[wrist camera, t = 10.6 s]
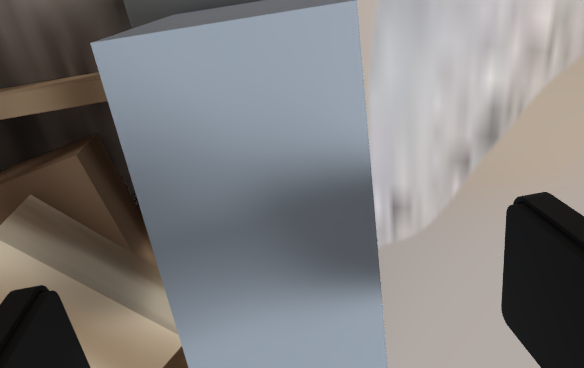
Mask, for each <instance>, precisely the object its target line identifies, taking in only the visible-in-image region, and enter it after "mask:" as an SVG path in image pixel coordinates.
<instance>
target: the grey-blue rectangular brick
mask: <svg viewBox="0 0 584 368" xmlns="http://www.w3.org/2000/svg"><path fill="white" fill-rule="evenodd" d="M358 20H359V19H358V8H357V0H262V1H256V2H250V3H243V4H237V5H231V6H224V7H218V8H212V9H206V10H199V11H193V12H187V13H180V14H174V15H171V16H168V17H165V18H162V19H159V20H156V21H153V22H151V23H148V24H145V25H142V26H139V27H136V28H133V29H130V30H127V31H124V32H121V33H118V34H115V35H112V36H109V37H106V38H103V39H100V40H97V41H94V42H91V43H90V44H91V48H92V51H93V54H94V57H95V61H96V64H97V67H98V71H99V74H100V77H101V81H102V84H103V87H104V90H105V94H106V97H107V100H108V104H109V107H110V110H111V114H112V117H113V120H114V123H115V127H116V130H117V133H118V137H119V140H120V143H121V147H122V150H123V153H124V156H125V160H126V163H127V166H128V170H129V173H130V176H131V180H132V183H133V186H134V190H135V193H136V196H137V199H138V203H139V206H140V209H141V213H142V216H143V219H144V223H145V226H146V229H147V232H148V236H149V239H150V242H151V246H152V249H153V252H154V256H155V259H156V262H157V265H158V269H159V272H160V275H161V279H162V282H163V285H164V289H165V292H166V295H167V298H168V302H169V305H170V308H171V312H172V315H173V318H174V322H175V325H176V328H177V331H178V335H179V338H180V341H181V345H182V348H183V351H184V355H185V358H186V361H187V364H188V368H388V366H387V354H386V342H385V330H384V318H383V306H382V295H381V283H380V271H379V259H378V246H377V235H376V223H375V211H374V199H373V187H372V175H371V163H370V151H369V139H368V127H367V115H366V103H365V91H364V79H363V67H362V56H361V45H360V32H359V21H358Z"/></svg>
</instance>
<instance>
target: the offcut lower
mask: <svg viewBox="0 0 584 368" xmlns="http://www.w3.org/2000/svg"><path fill="white" fill-rule="evenodd" d="M30 194H31V195H33V196H34V197H36V198H38V199H39V200H41V201H43V202H45V203H46V204H48V205H50V206H52V207H53V208H55V209H57V210H58V211H60V212H62V213H64V214H65V215H67V216H69V217H71V218H72V219H74V220H76V221H77V222H79V223H81V224H83V225H84V226H86V227H88V228H90V229H91V230H93V231H95V232H97V233H98V234H100V235H102V236H103V237H105V238H107V239H109V240H110V241H112V242H114V243H116V244H117V245H119V246H121V247H122V248H124V249H126V250H128V251H129V252H131V253H133V254H135V255H136V256H138V257H140V258H141V259H143V260H145V261H147V262H148V263H150V264H152V265H154V266H155V267H157V268H158V265H157V262H156V259H155V256H154V252H153V249H152V246H151V242H150V239H149V236H148V232H147V229H146V226H145V223H144V219H143V216H142V215H141V213H140V211H139V209H138V207H137V206H136V204H135V202H134V200H133V198H132V196H131V195H130V193H129V191H128V189H127V187H126V185H125V184H124V182H123V180H122V178H121V176H120V174H119V173H118V171H117V169H116V167H115V165H114V163H113V162H112V160H111V158H110V156H109V154H108V153H107V151H106V149H105V147H104V145H103V143H102V142H101V140H100V138H99V136H98V134H97V133H96V134H94V135H91V136H89V137H86V138H83V139H81V140H78V141H75V142H73V143H70V144H68V145H65V146H62V147H60V148H57V149H54V150H52V151H49V152H47V153H44V154H41V155H39V156H36V157H33V158H31V159H28V160H26V161H23V162H20V163H18V164H15V165H12V166H10V167H8V168H7V169H6V170H4V171H3V172H2V173H0V225H1V224H2V223H3V222H4V221H5V220H6V219H7V218H8V217H9V216H10V215H11V214H12V213H13V212H14V211H15V210H16V209H17V208H18V207H19V206H20V205H21V204H22V203H23V202H24V200H25V199H26V198H27V197H28V196H29V195H30Z"/></svg>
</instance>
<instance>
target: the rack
mask: <svg viewBox="0 0 584 368" xmlns="http://www.w3.org/2000/svg"><path fill="white" fill-rule="evenodd" d="M106 101H108V100H107V97H106V94H105V90H104V87H103V84H102V81H101V77H100V74H99V72H97V73H91V74H85V75H80V76H74V77H68V78H62V79H56V80H50V81H44V82H38V83H32V84H26V85H20V86H14V87H8V88H2V89H0V120H1V119H7V118H13V117H19V116H25V115H30V114H36V113H42V112H48V111H54V110H59V109H65V108H71V107H77V106H82V105H88V104H94V103H100V102H106ZM163 368H188V364H187V361H186V358H185V355H184V351H183V348H182V346H181V347H180V348H179V350H178V351H177V352H176V353H175V354H174V355H173V356H172V358H171V359H170V360H169V361H168V362H167V363H166V364H165V366H164V367H163Z"/></svg>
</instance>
